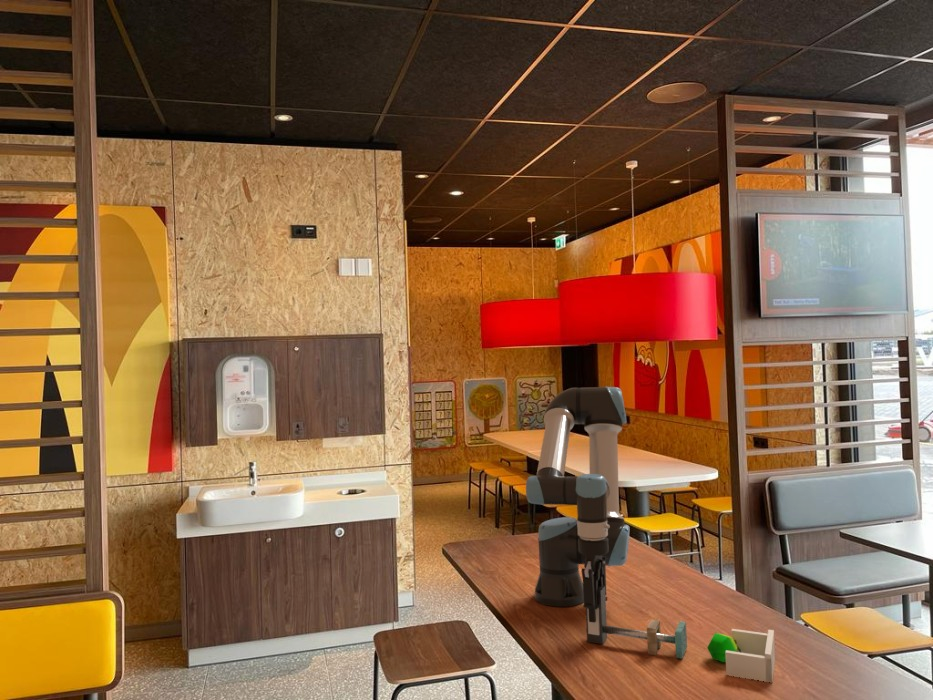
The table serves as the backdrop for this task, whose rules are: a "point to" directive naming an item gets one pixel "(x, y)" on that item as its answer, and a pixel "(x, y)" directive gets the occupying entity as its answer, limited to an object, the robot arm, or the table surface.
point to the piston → (678, 639)
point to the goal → (752, 655)
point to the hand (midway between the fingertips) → (596, 630)
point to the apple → (721, 646)
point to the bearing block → (653, 637)
